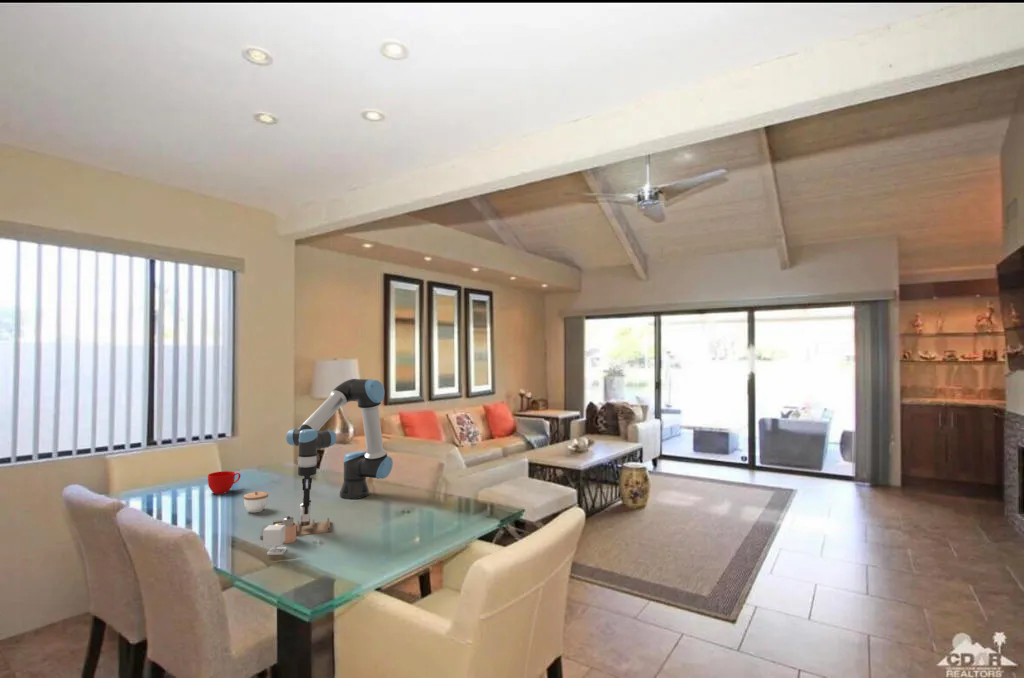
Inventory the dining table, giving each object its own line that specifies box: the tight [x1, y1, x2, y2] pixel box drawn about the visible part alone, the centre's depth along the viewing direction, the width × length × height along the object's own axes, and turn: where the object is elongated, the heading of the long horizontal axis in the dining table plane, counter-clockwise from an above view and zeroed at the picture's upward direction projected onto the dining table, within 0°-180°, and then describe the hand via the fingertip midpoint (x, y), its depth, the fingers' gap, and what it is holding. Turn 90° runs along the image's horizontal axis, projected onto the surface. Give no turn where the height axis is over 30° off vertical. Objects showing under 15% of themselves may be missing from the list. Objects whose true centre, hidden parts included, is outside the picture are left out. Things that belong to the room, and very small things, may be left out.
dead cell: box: [282, 515, 294, 527], centre depth 213 cm, size 4×4×10 cm
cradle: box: [259, 519, 283, 540], centre depth 223 cm, size 13×15×3 cm
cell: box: [299, 502, 312, 526], centre depth 226 cm, size 4×4×10 cm
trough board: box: [296, 517, 331, 537], centre depth 227 cm, size 13×14×2 cm
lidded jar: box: [243, 490, 269, 513], centre depth 252 cm, size 11×11×9 cm
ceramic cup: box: [207, 470, 241, 495], centre depth 284 cm, size 13×17×10 cm
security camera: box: [262, 524, 288, 556], centre depth 200 cm, size 6×7×10 cm
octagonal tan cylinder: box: [280, 521, 297, 544], centre depth 213 cm, size 6×6×7 cm
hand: (305, 519), depth 226 cm, fingers closed on cell, 3 cm apart
